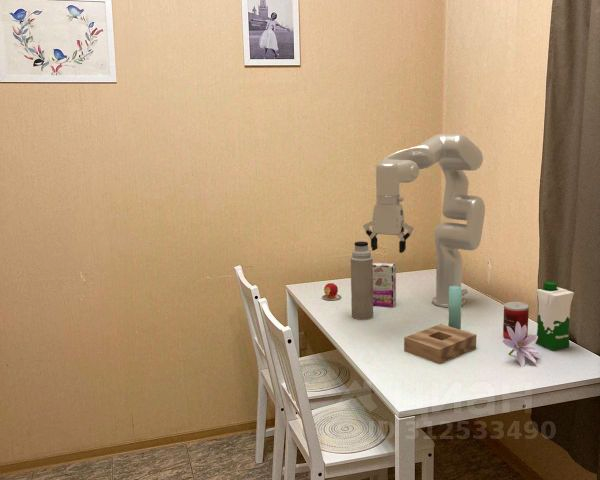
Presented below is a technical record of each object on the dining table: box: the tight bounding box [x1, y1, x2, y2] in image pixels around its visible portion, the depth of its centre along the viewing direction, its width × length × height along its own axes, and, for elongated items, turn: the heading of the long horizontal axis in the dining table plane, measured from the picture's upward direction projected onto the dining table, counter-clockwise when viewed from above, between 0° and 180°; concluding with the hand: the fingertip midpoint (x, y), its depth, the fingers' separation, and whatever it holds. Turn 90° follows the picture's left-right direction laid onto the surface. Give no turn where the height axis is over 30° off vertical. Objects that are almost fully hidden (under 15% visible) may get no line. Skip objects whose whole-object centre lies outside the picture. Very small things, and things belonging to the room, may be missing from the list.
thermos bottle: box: [350, 241, 374, 321], centre depth 228 cm, size 8×8×28 cm
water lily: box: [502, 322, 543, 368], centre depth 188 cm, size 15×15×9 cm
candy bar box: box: [373, 261, 397, 308], centre depth 242 cm, size 11×5×16 cm, turn 68°
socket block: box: [403, 323, 477, 364], centre depth 197 cm, size 18×14×4 cm
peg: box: [447, 286, 462, 330], centre depth 209 cm, size 4×4×16 cm
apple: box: [321, 282, 342, 301], centre depth 253 cm, size 8×8×6 cm
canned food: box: [502, 301, 530, 340], centre depth 204 cm, size 8×8×11 cm
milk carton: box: [535, 281, 575, 352], centre depth 195 cm, size 9×9×20 cm
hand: (388, 250), depth 208 cm, fingers open, 9 cm apart
